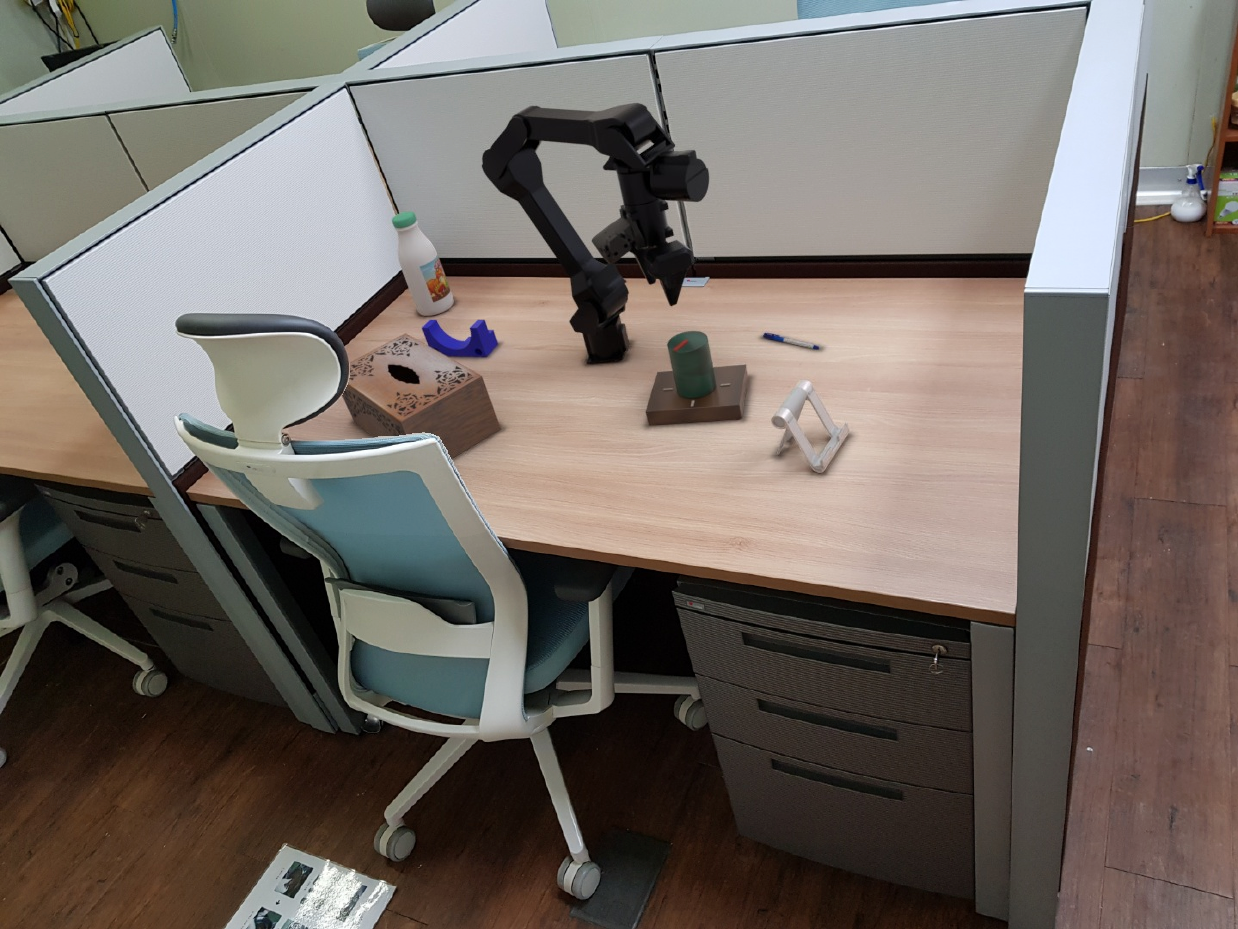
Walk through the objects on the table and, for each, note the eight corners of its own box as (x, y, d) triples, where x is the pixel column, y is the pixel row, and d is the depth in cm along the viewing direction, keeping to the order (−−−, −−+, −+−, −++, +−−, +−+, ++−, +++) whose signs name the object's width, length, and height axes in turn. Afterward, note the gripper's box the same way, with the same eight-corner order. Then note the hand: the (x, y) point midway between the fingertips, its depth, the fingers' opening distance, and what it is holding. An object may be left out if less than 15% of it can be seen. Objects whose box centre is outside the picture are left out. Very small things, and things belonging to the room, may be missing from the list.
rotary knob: (692, 373, 143) (683, 326, 138) (724, 381, 139) (715, 332, 134) (668, 393, 140) (658, 345, 135) (700, 402, 136) (690, 353, 131)
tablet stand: (825, 474, 120) (819, 422, 116) (770, 464, 125) (762, 413, 120) (849, 436, 126) (845, 384, 121) (795, 427, 130) (789, 377, 125)
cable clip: (498, 344, 171) (488, 315, 167) (486, 357, 167) (476, 328, 164) (444, 343, 176) (434, 315, 172) (432, 356, 172) (421, 327, 169)
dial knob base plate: (648, 425, 138) (645, 410, 137) (660, 385, 147) (656, 370, 145) (741, 419, 135) (739, 403, 133) (748, 377, 143) (745, 363, 141)
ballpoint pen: (762, 338, 152) (761, 333, 151) (765, 336, 152) (764, 330, 152) (817, 350, 145) (817, 345, 145) (820, 348, 146) (820, 342, 145)
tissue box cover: (500, 428, 147) (482, 375, 141) (423, 475, 141) (400, 421, 135) (425, 381, 165) (405, 333, 159) (353, 421, 159) (331, 372, 153)
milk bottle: (424, 320, 186) (388, 227, 174) (414, 308, 192) (378, 217, 180) (459, 306, 188) (426, 213, 176) (448, 294, 194) (415, 203, 182)
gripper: (572, 197, 140) (596, 289, 149) (610, 234, 125) (634, 335, 134) (640, 174, 142) (659, 267, 151) (685, 208, 127) (704, 309, 136)
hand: (662, 293), depth 143 cm, fingers open, 9 cm apart
